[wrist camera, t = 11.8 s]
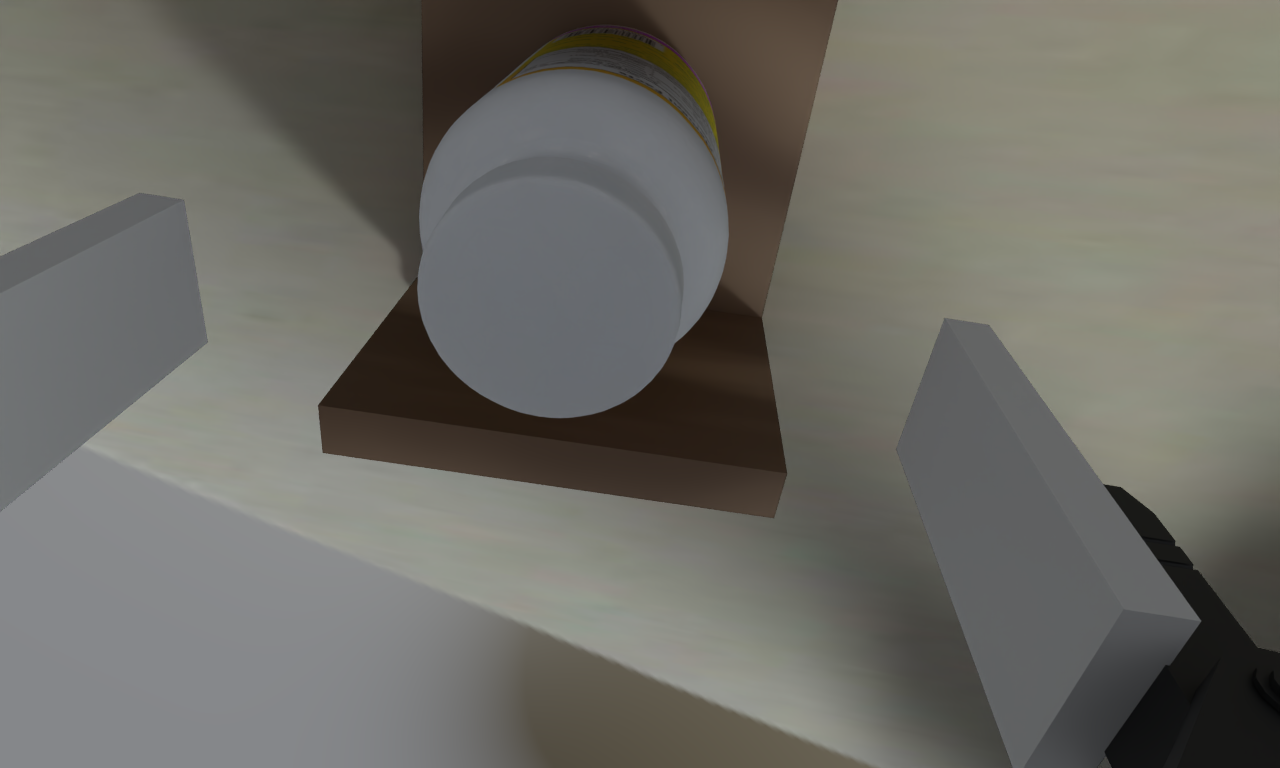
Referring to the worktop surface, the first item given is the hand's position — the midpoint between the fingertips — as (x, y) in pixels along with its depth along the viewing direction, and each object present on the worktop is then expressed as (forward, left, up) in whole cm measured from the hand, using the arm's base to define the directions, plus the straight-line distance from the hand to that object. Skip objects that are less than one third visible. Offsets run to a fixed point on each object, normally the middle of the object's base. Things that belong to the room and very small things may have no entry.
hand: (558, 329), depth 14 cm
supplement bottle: (0, 0, -13) cm, 13 cm away
